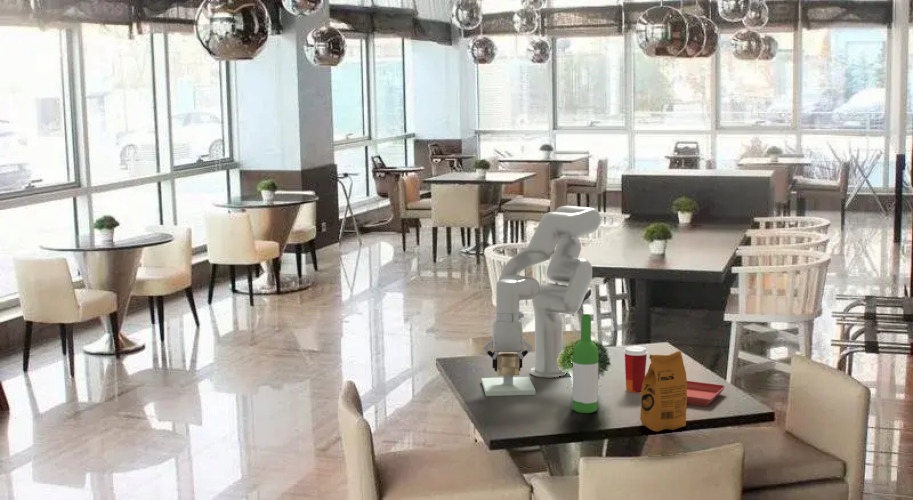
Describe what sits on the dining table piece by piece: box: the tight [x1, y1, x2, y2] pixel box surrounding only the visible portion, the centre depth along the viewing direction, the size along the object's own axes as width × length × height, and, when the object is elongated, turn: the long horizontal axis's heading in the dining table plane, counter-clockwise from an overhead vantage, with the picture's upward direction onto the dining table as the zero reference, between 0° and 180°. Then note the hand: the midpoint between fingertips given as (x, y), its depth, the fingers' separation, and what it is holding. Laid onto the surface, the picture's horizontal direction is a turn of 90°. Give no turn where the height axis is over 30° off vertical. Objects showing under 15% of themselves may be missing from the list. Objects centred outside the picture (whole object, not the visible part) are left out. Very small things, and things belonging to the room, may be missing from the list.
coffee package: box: [639, 350, 688, 432], centre depth 328 cm, size 10×12×22 cm
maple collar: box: [495, 352, 520, 377], centre depth 368 cm, size 7×7×6 cm
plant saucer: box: [687, 380, 726, 407], centre depth 358 cm, size 18×18×3 cm
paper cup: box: [623, 345, 648, 394], centre depth 365 cm, size 8×8×14 cm
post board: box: [481, 375, 536, 397], centre depth 369 cm, size 16×16×6 cm
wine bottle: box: [572, 313, 599, 414], centre depth 343 cm, size 8×8×30 cm
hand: (507, 369), depth 368 cm, fingers closed on maple collar, 7 cm apart
